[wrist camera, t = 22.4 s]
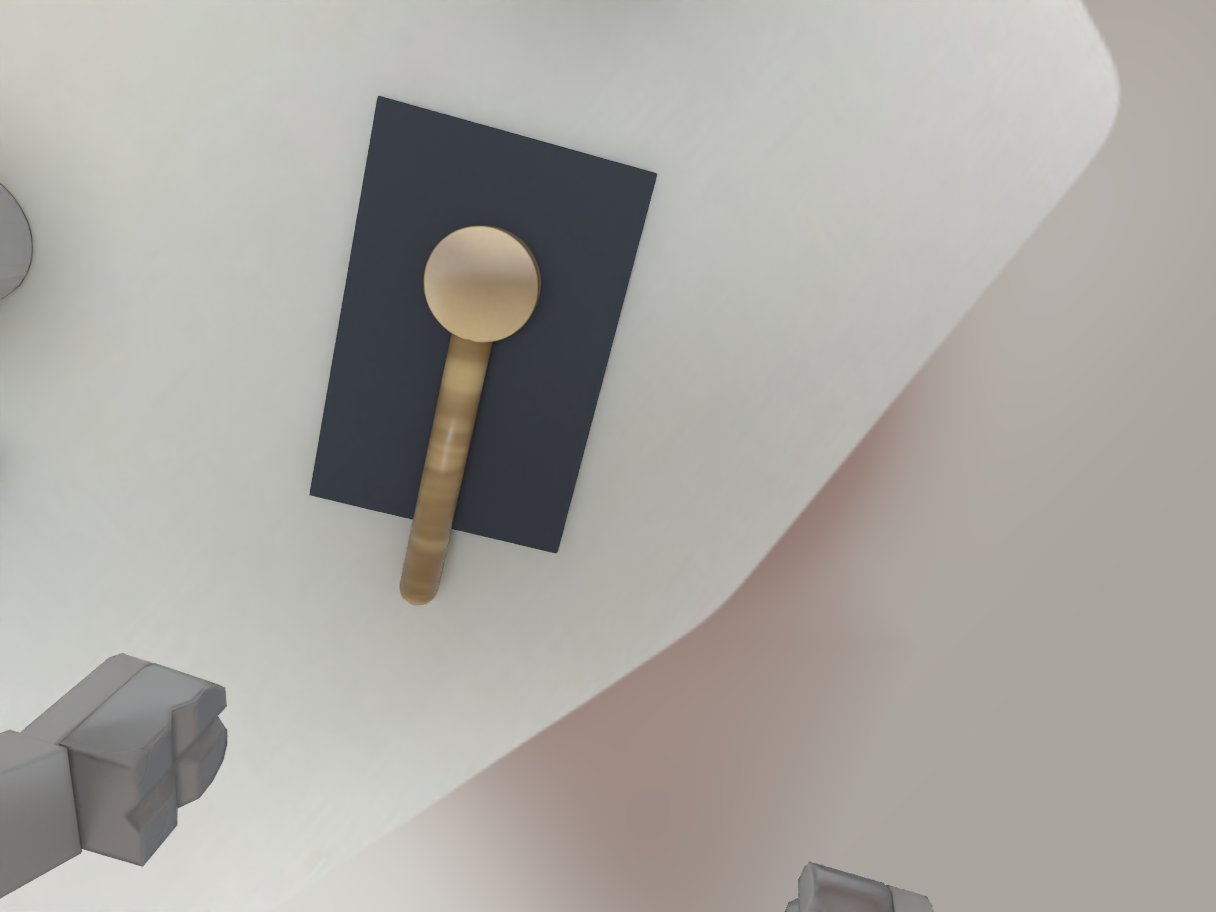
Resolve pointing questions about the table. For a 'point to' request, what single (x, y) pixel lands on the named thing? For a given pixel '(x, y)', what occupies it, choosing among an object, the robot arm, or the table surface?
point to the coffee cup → (13, 244)
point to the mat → (518, 365)
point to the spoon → (463, 375)
